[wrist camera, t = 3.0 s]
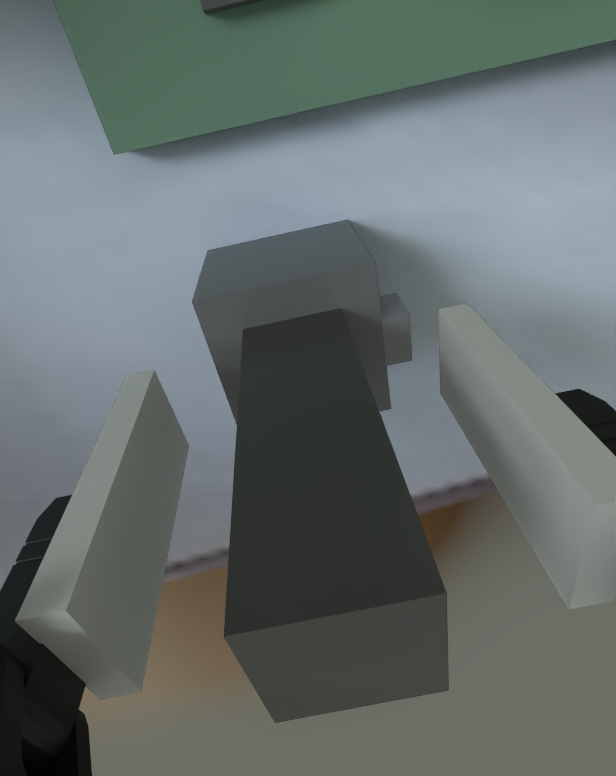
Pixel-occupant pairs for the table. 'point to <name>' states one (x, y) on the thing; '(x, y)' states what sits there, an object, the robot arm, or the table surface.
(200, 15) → the board
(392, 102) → the table surface
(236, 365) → the plug
